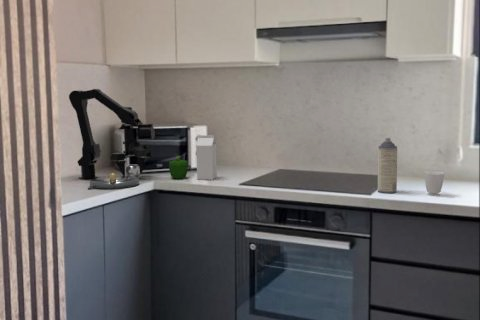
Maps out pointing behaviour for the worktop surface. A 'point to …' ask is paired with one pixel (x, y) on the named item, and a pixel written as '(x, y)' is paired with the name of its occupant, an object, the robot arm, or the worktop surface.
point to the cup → (434, 182)
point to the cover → (132, 170)
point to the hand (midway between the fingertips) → (132, 174)
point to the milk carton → (206, 157)
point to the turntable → (114, 182)
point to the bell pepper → (178, 168)
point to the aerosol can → (387, 167)
